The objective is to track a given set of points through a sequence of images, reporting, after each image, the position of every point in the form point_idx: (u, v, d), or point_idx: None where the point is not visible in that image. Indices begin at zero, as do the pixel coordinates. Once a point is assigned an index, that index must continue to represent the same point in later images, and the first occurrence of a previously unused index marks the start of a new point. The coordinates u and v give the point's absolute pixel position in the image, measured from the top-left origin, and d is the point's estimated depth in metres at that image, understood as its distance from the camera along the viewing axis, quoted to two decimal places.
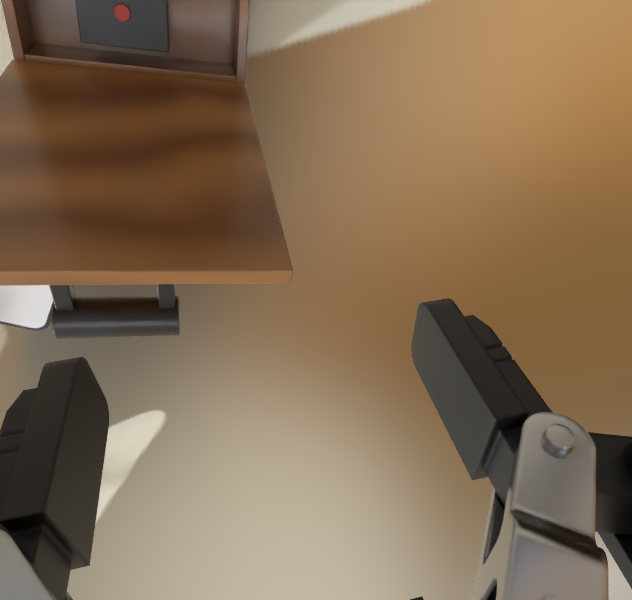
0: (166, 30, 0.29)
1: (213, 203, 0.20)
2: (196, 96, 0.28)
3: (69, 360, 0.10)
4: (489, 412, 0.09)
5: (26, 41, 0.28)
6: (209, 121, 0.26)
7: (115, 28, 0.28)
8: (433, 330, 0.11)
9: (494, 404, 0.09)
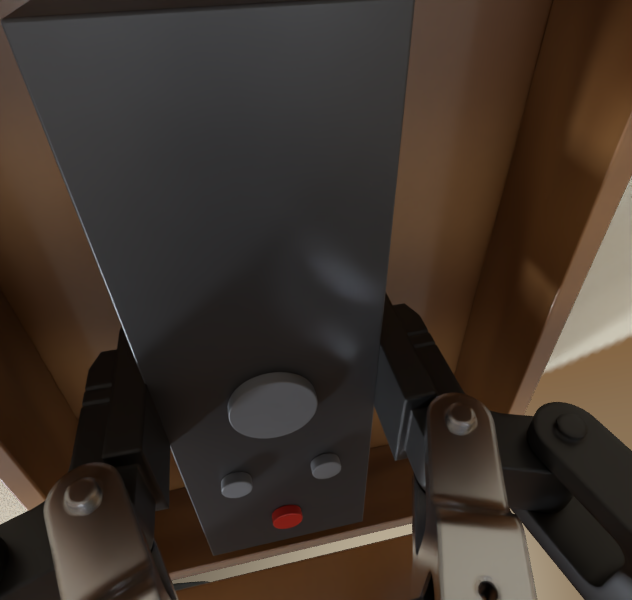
0: (362, 504, 0.15)
1: None
2: None
3: None
4: (401, 393, 0.09)
5: None
6: None
7: (273, 528, 0.15)
8: None
9: (406, 385, 0.09)
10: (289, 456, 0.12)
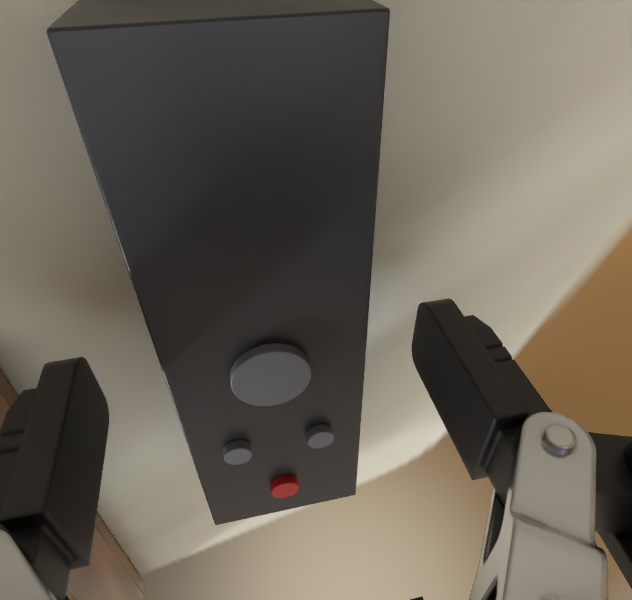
0: (355, 477, 0.16)
1: None
2: None
3: (69, 360, 0.10)
4: (489, 412, 0.09)
5: None
6: None
7: (271, 499, 0.16)
8: (433, 330, 0.11)
9: (494, 404, 0.09)
10: (286, 425, 0.13)
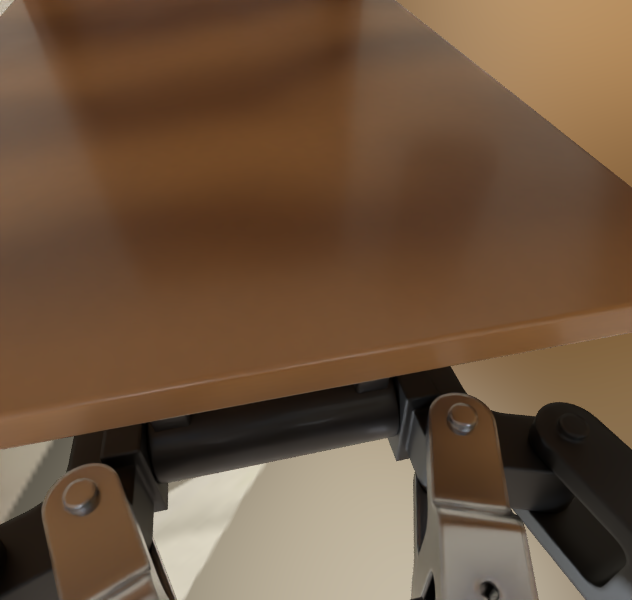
0: None
1: (445, 152, 0.09)
2: (306, 0, 0.17)
3: None
4: (402, 393, 0.09)
5: None
6: (346, 27, 0.15)
7: None
8: None
9: (408, 385, 0.09)
10: None
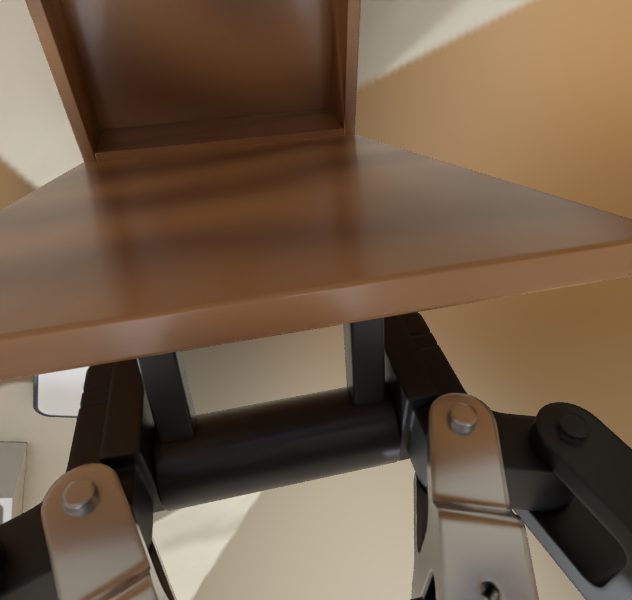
0: None
1: (412, 196, 0.11)
2: (306, 146, 0.22)
3: None
4: (403, 393, 0.09)
5: (93, 135, 0.23)
6: (337, 154, 0.19)
7: None
8: None
9: (408, 385, 0.09)
10: None
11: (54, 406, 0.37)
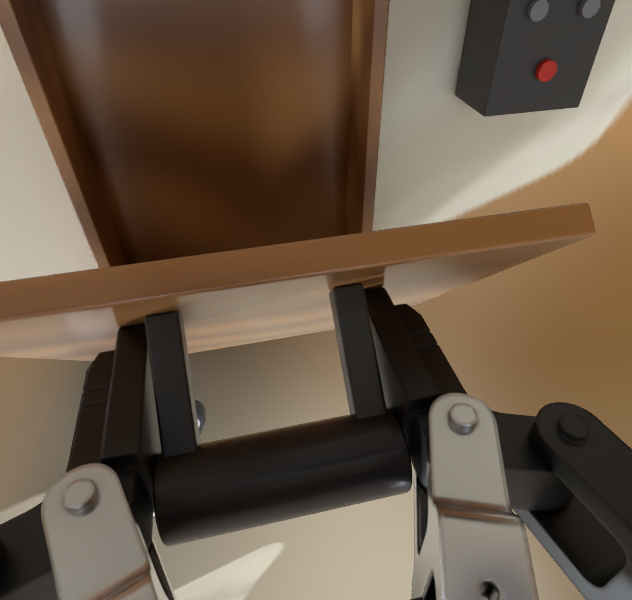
0: (586, 80, 0.22)
1: None
2: None
3: (140, 325, 0.11)
4: (403, 393, 0.09)
5: None
6: None
7: (529, 91, 0.22)
8: None
9: (408, 385, 0.09)
10: None
11: None
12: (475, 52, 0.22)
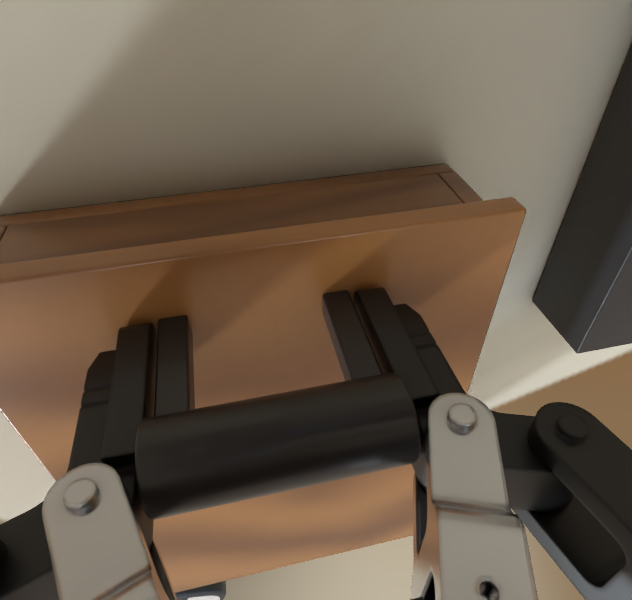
0: None
1: None
2: None
3: (141, 325, 0.11)
4: None
5: None
6: None
7: None
8: (364, 317, 0.11)
9: (407, 385, 0.09)
10: None
11: None
12: (567, 277, 0.18)
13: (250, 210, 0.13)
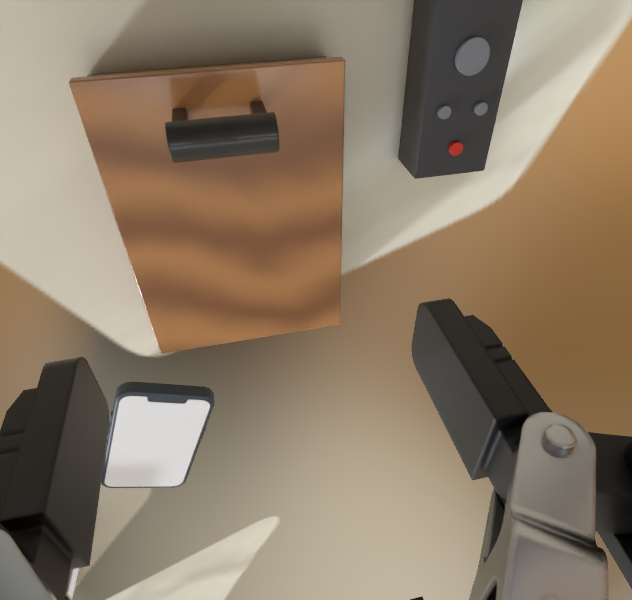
0: (487, 153, 0.31)
1: None
2: None
3: (69, 360, 0.10)
4: (489, 412, 0.09)
5: None
6: None
7: (445, 161, 0.31)
8: (433, 330, 0.11)
9: (494, 404, 0.09)
10: (467, 98, 0.28)
11: (116, 481, 0.49)
12: (408, 133, 0.31)
13: None
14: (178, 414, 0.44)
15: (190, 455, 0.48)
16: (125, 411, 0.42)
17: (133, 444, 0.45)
